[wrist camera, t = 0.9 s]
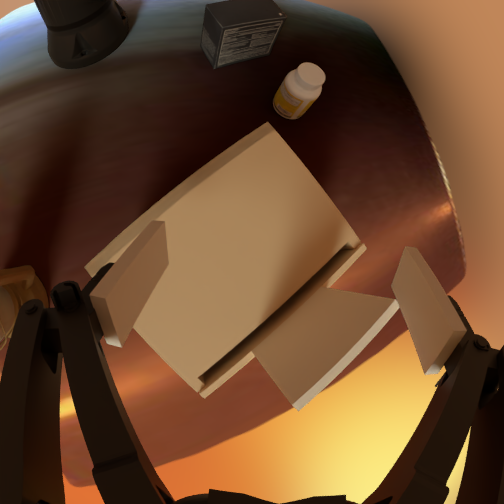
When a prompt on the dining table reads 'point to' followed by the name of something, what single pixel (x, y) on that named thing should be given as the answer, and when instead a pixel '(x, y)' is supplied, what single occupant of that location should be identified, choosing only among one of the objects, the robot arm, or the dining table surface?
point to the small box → (240, 30)
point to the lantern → (17, 295)
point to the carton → (232, 250)
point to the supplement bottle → (299, 90)
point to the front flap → (309, 335)
